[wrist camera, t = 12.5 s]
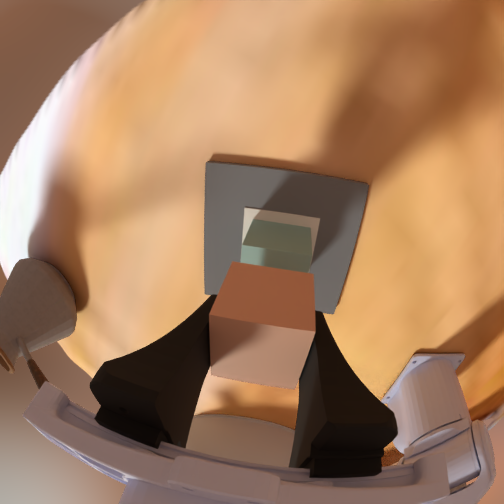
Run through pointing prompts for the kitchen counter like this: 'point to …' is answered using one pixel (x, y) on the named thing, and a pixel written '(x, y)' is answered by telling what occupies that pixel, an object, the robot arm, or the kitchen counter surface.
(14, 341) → the coffee pot
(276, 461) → the kettle
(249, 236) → the base block
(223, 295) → the top block
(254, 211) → the grey flat square plate
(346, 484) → the robot arm
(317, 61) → the kitchen counter surface
